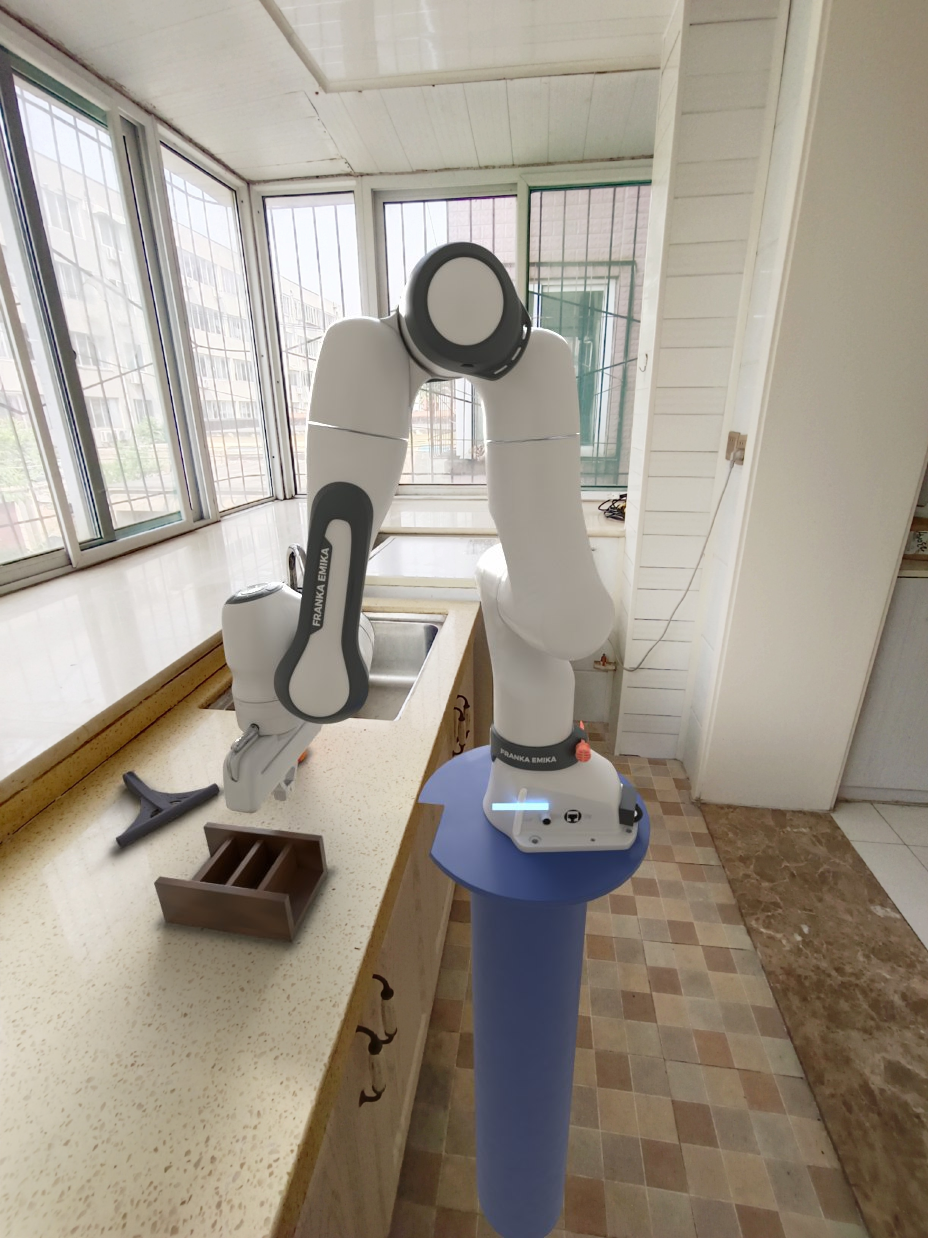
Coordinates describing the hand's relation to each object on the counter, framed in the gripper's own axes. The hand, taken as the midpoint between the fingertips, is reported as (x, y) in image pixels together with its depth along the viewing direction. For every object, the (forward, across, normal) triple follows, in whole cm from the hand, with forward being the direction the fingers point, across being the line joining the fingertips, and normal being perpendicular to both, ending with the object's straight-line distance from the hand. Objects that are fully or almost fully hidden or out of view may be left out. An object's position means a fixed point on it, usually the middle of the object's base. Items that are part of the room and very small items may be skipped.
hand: (285, 794), depth 75 cm
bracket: (+7, +3, +25) cm, 26 cm away
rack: (+6, -11, 0) cm, 13 cm away
